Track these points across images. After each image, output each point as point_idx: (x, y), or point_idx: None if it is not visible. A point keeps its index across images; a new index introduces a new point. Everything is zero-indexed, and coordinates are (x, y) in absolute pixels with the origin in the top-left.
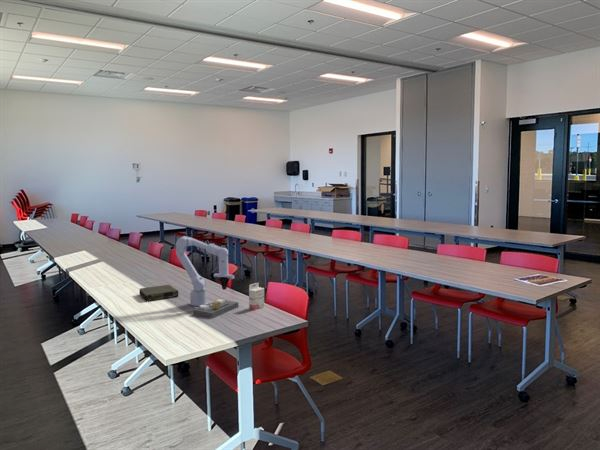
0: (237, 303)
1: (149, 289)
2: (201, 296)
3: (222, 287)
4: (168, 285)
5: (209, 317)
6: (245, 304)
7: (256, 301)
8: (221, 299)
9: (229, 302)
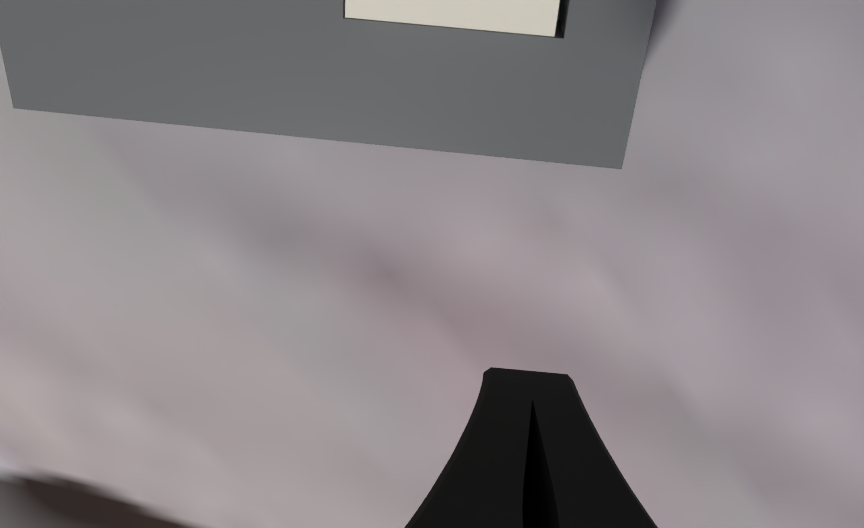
0: (19, 68)
1: None
2: None
3: (567, 411)
4: None
5: None
6: (104, 284)
7: None
8: (466, 15)
9: (198, 6)
